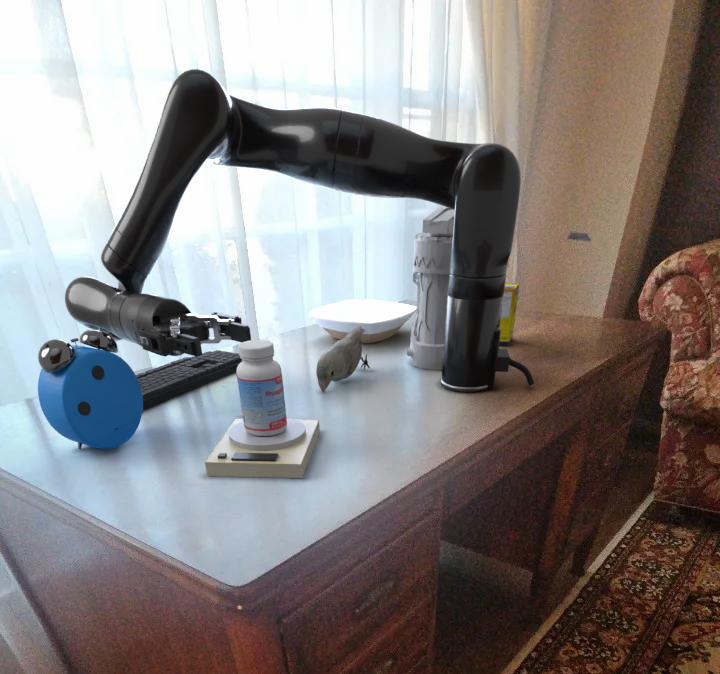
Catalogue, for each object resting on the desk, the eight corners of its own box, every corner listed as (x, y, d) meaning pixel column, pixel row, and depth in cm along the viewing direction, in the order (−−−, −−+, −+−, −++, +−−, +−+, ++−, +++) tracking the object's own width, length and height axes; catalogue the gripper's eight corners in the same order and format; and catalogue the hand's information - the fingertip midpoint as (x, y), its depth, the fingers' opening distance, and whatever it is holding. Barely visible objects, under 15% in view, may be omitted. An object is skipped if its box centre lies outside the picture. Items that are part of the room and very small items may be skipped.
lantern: (449, 373, 110) (462, 210, 93) (400, 366, 114) (405, 209, 97) (474, 356, 118) (490, 204, 102) (428, 350, 122) (436, 203, 106)
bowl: (353, 320, 144) (353, 296, 140) (428, 331, 134) (429, 306, 130) (297, 339, 130) (295, 313, 127) (375, 353, 121) (375, 325, 117)
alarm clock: (128, 426, 92) (98, 321, 82) (155, 433, 89) (127, 326, 79) (57, 455, 83) (14, 343, 73) (85, 464, 81) (44, 349, 71)
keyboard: (210, 357, 121) (208, 347, 119) (252, 365, 116) (250, 354, 115) (69, 410, 98) (65, 398, 97) (114, 421, 93) (111, 409, 92)
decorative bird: (308, 391, 103) (305, 345, 98) (348, 366, 114) (347, 324, 109) (335, 394, 101) (332, 348, 96) (373, 369, 112) (373, 327, 107)
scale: (319, 432, 88) (318, 414, 86) (302, 478, 76) (300, 458, 74) (237, 431, 89) (234, 413, 87) (207, 476, 77) (203, 456, 75)
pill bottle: (280, 439, 79) (270, 351, 72) (238, 436, 80) (224, 349, 73) (292, 423, 84) (284, 338, 76) (253, 420, 85) (241, 337, 77)
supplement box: (512, 339, 127) (520, 282, 120) (508, 346, 123) (516, 287, 116) (485, 337, 129) (492, 281, 122) (481, 344, 125) (487, 286, 117)
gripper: (107, 303, 80) (174, 320, 72) (190, 288, 88) (260, 301, 80) (122, 361, 85) (187, 382, 77) (200, 341, 93) (267, 358, 85)
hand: (224, 341), depth 78 cm, fingers open, 8 cm apart
